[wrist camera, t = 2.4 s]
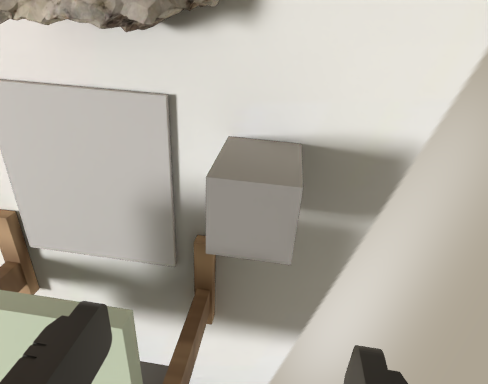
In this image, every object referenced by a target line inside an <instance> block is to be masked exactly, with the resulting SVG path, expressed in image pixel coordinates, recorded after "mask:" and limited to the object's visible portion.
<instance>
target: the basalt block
mask: <svg viewBox="0 0 488 384" xmlns="http://www.w3.org/2000/svg"><path fill="white" fill-rule="evenodd" d="M302 192H303V171H302V145H301V144H299V143H289V142H280V141H270V140H260V139H250V138H240V137H230V136H229V137H228V138H227V140H226V142H225V144H224V146H223V147H222V149H221V151H220V153H219V155H218V156H217V158H216V160H215V162H214V164H213V165H212V167H211V169H210V171H209V173H208V174H207V176H206V254H212V255H220V256H227V257H234V258H242V259H249V260H257V261H264V262H272V263H279V264H287V265H291V262H292V256H293V249H294V243H295V237H296V230H297V224H298V218H299V211H300V205H301V199H302Z"/></svg>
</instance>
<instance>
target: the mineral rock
mask: <svg viewBox="0 0 488 384" xmlns="http://www.w3.org/2000/svg"><path fill="white" fill-rule="evenodd" d="M218 2H219V0H0V24H1V23H3V22H5V21H6V20H8V19H13V20H20V19H27V20H29V21H35V22H38V23H41V24H44V25H49V24H52V23H55V22H58V21H62V20H65V19H69V20H72V21H76V22H79V23H91V24H93V25H95V26H97V27H98V28H101V29H106V28H114V27H120V26H121V27H122V28H123V30H124V31H125V32H128V31H133V30H136V29H140V30H145V29H148V28H150V27H153V26H155V25H156V24H158V23H160V22H161V21H163V20H165V19H167V18H170V17H171V16H172V15H175V14H177V13H180V12H181V11H182V10H184V9H185V10H189V11H191V10H192V9H193V8H195V7H197V6H200V7H203V6H206V5H209V6H216V5H217V3H218Z"/></svg>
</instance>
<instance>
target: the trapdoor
mask: <svg viewBox="0 0 488 384" xmlns="http://www.w3.org/2000/svg"><path fill="white" fill-rule="evenodd" d="M79 303H80V302H76V301H70V300H63V299H57V298H50V297H44V296H37V295H31V294H24V293H18V292H11V291H5V290H0V382H1V380H2V379H3V378H4V377H5V376H6V374H7V373H8V372H9V371H10V369H11V368H12V367H13V366H14V365H15V363H16V362H17V361H18V360H19V359H20V358H22V356H23V354H24V352H25V351H26V350H27V349H28V348H29V346H30V345H32V344H33V342H34V340H35V339H36V338H37V337H38V335H39V334H40V333H41V332H42V331H43V329H44V328H45V327H46V326H48V325H49V324H50V323H52V322H53V321H55V320H56V319H57V318H59V317H60V316H62V315H63V316H69V315H70V314H71V313H72V311H73V310H74V309H75V307H76V306H77V305H78V304H79ZM107 308H108V314H109V320H110V326H111V331H112V343H111V347H110V350H109V353H108V355H107V357H106V359H105V361H104V362H103V364H102V366H101V368H100V369H99V371H98V373H97V375H96V376H95V378H94V380H93V382H92V383H91V384H163V381H164V378H165V376H166V373H167V370H168V367H169V366H165V365H160V364H154V363H148V362H142V361H140V359H139V352H138V345H137V338H136V331H135V324H134V316H133V310H129V309H122V308H116V307H109V306H107Z"/></svg>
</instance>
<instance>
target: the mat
mask: <svg viewBox="0 0 488 384" xmlns="http://www.w3.org/2000/svg"><path fill="white" fill-rule="evenodd" d="M0 150H1V153H2V156H3V160H4V163H5V166H6V169H7V173H8V176H9V179H10V183H11V186H12V189H13V193H14V196H15V199H16V202H17V206H18V209H19V212H20V216H21V219H22V222H23V226H24V229H25V232H26V235H27V239H28V242H29V245H30V247H34V248H41V249H48V250H55V251H63V252H70V253H77V254H84V255H91V256H99V257H106V258H113V259H120V260H127V261H135V262H142V263H149V264H156V265H163V266H171V267H175V266H176V245H175V225H174V205H173V185H172V164H171V144H170V124H169V103H168V94H157V93H145V92H134V91H123V90H112V89H101V88H90V87H78V86H67V85H56V84H45V83H34V82H23V81H11V80H0Z"/></svg>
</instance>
